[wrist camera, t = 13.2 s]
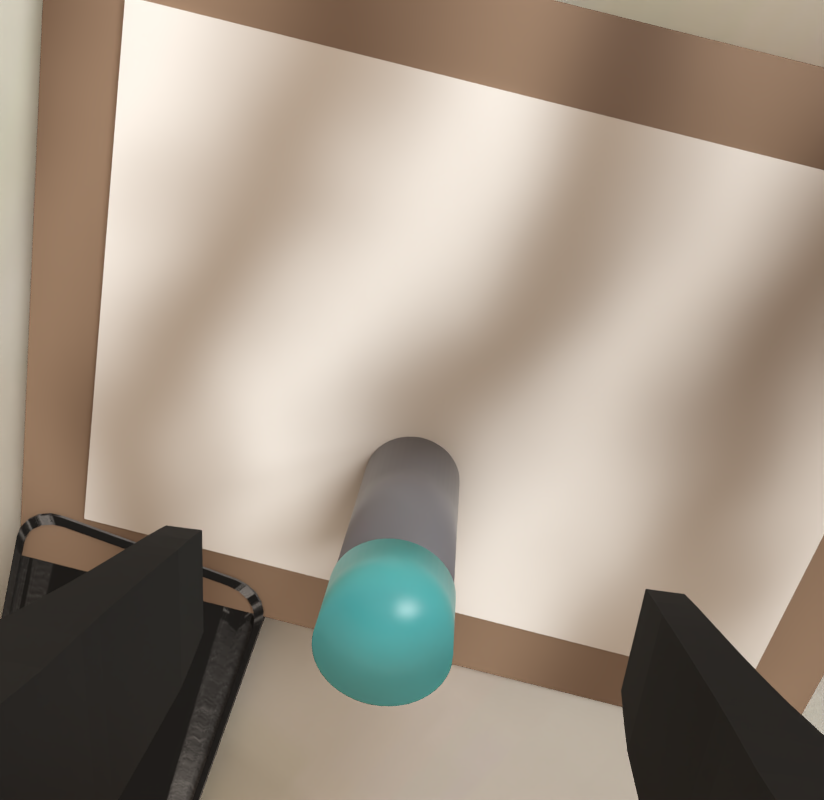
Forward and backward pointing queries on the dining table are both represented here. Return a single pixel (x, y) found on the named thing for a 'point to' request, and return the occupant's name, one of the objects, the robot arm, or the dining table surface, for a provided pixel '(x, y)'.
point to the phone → (202, 688)
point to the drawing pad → (439, 310)
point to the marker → (394, 580)
